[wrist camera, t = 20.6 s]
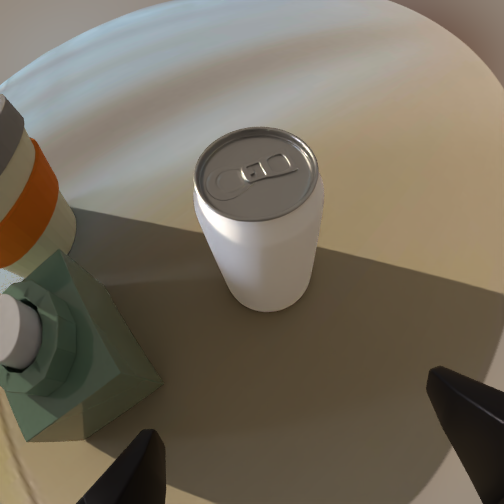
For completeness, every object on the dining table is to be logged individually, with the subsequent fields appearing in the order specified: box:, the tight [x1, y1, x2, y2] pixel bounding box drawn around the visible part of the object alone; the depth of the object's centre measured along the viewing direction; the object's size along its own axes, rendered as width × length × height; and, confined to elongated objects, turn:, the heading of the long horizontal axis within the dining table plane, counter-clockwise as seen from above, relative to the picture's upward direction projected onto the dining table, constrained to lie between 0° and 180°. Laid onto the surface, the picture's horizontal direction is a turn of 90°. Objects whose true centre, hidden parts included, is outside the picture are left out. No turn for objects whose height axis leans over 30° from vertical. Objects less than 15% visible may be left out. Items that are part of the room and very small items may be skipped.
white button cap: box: [0, 294, 42, 369], centre depth 14 cm, size 4×4×2 cm
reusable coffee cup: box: [0, 94, 76, 278], centre depth 22 cm, size 13×12×15 cm
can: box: [193, 127, 324, 312], centre depth 19 cm, size 6×6×12 cm
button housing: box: [0, 249, 164, 442], centre depth 19 cm, size 10×9×9 cm
